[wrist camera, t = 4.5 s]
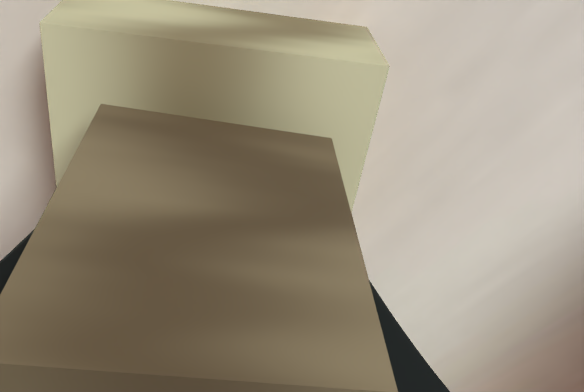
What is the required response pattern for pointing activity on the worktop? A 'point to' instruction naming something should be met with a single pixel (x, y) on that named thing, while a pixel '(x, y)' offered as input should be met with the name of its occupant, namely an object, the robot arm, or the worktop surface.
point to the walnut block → (193, 267)
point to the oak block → (212, 72)
